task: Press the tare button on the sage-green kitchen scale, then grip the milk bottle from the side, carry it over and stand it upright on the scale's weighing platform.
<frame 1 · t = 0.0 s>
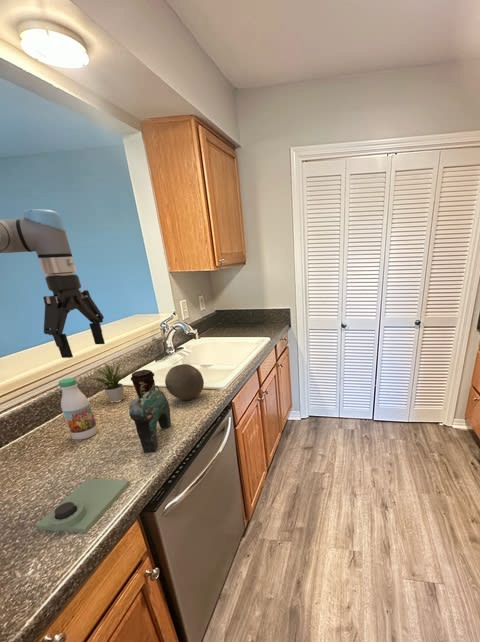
hand: (85, 350, 95), 30 cm above the countertop, tool pointing down, fingers open, 13 cm apart
teal painted figure: (157, 438, 106), on the countertop
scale: (87, 504, 78), on the countertop
milk bottle: (85, 434, 110), on the countertop
dark brown ball: (188, 400, 133), on the countertop
tare button: (65, 510, 72), point 3 cm above the countertop, slide at 0.1 cm
house plant: (118, 399, 137), on the countertop
coffee cup: (149, 402, 133), on the countertop
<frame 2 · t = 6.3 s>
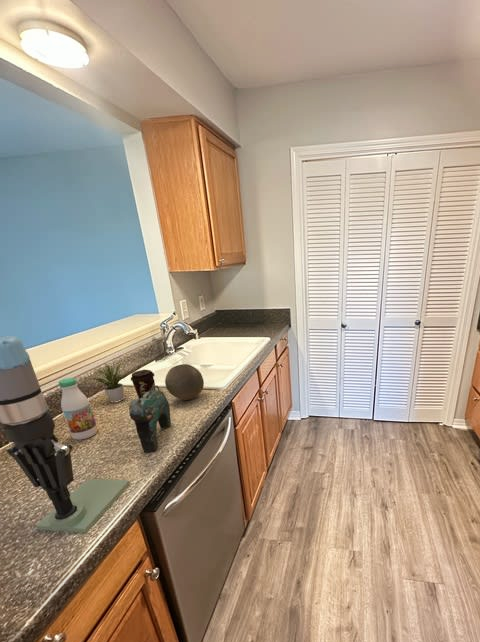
hand: (65, 510, 72), 4 cm above the countertop, tool pointing down, fingers closed
tare button: (66, 514, 72), point 2 cm above the countertop, slide at -0.9 cm, touching gripper
everything else where it was.
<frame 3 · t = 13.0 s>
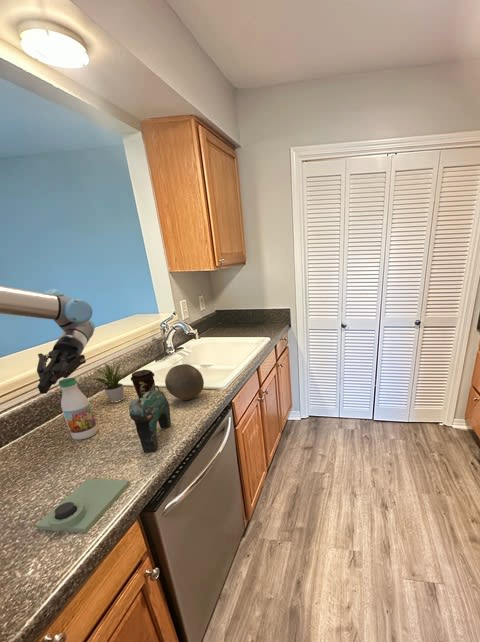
hand: (42, 389, 90), 22 cm above the countertop, tool tilted 75°, fingers closed
tare button: (65, 510, 72), point 3 cm above the countertop, slide at 0.1 cm
everything else where it was.
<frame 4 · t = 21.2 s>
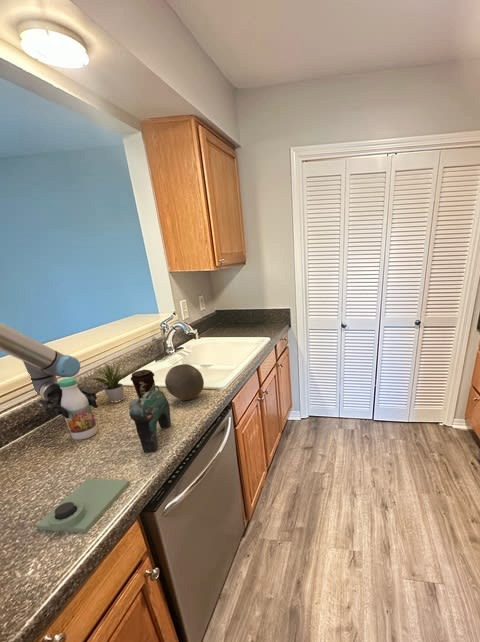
hand: (81, 409, 103), 11 cm above the countertop, tool horizontal, fingers closed on milk bottle, 8 cm apart
milk bottle: (85, 434, 110), on the countertop, touching gripper
everything else where it was.
when the fingers open (12 cm above the countertop, at t = 32.6 s): milk bottle stays where it is, resting on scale.
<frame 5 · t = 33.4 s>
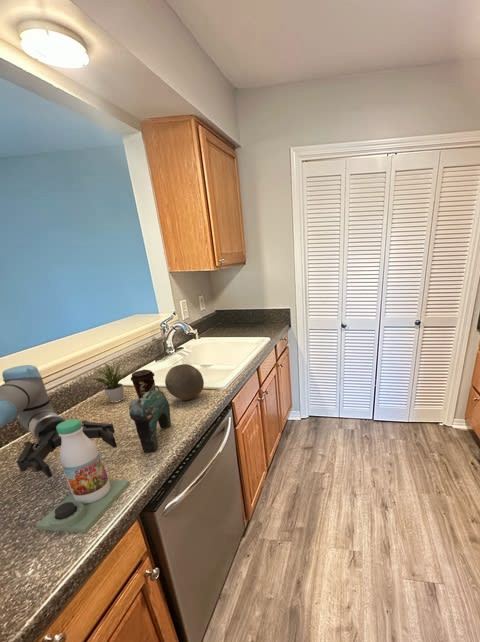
hand: (83, 456, 73), 14 cm above the countertop, tool horizontal, fingers open, 13 cm apart
milk bottle: (93, 494, 80), point 1 cm above the countertop, touching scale
everything else where it was.
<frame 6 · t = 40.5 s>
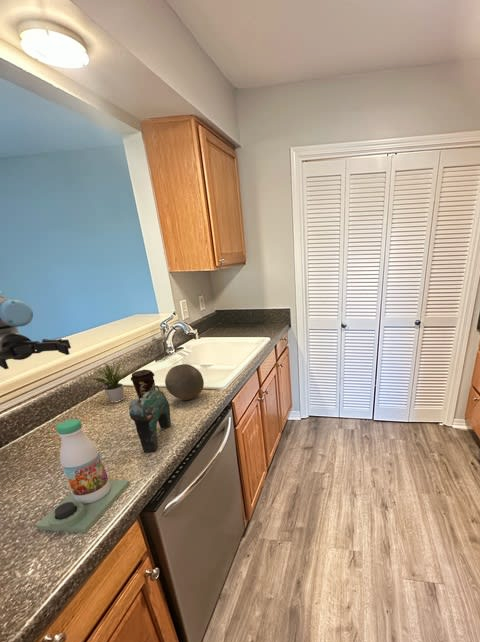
hand: (37, 356, 85), 32 cm above the countertop, tool horizontal, fingers open, 13 cm apart
nothing on the countertop moved.
at the end: tare button pushed in 1.0 cm at the most during the clip, back to where it started at the end; milk bottle inside the target area on the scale (0.2 cm from its centre), point 1.0 cm above the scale's base; milk bottle touching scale; milk bottle tilted 0° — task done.
